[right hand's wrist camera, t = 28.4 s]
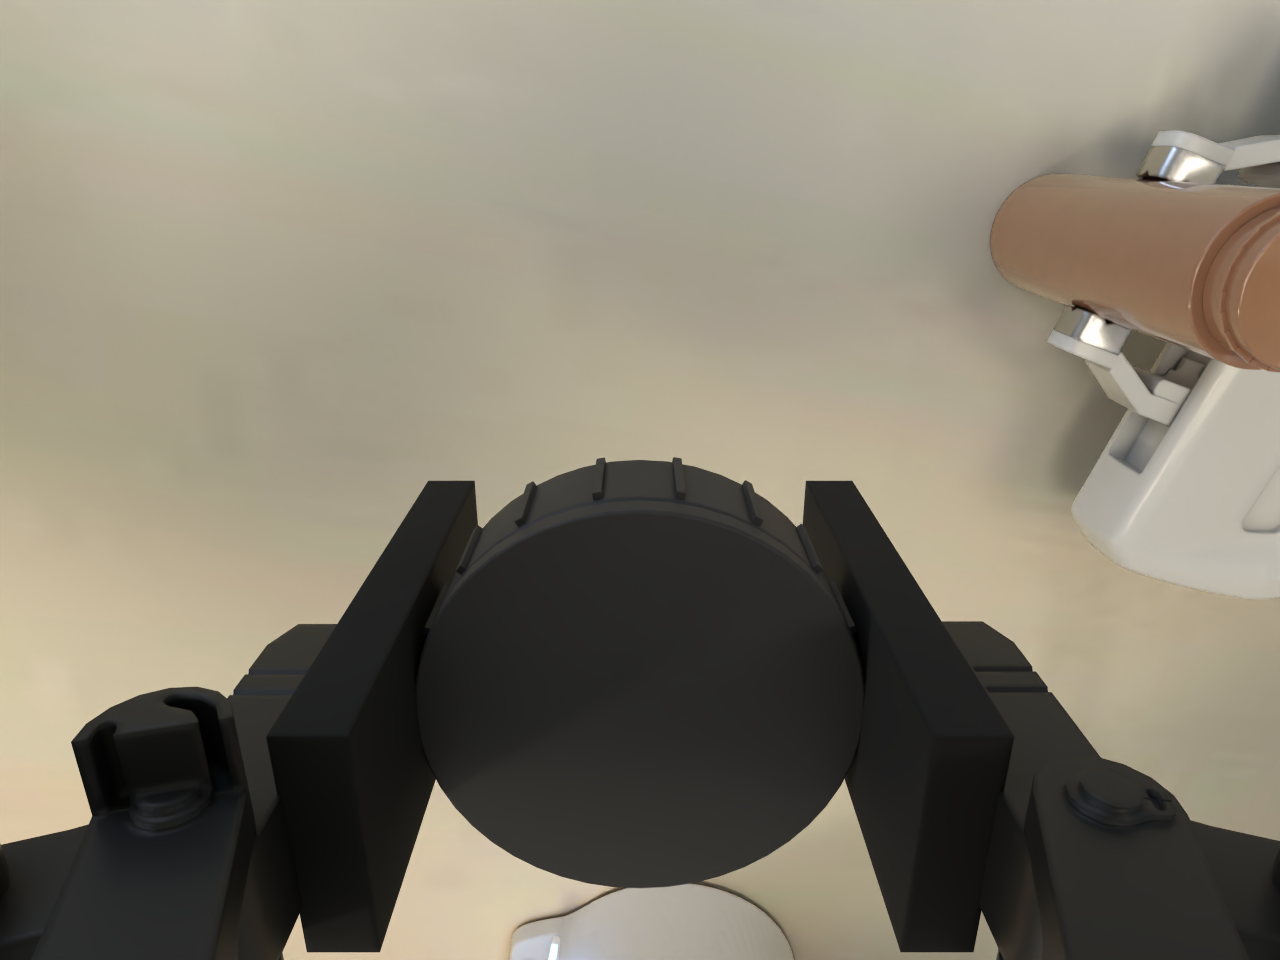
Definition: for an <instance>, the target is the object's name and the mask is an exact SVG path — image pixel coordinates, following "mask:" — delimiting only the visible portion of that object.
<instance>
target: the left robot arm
mask: <svg viewBox="0 0 1280 960" xmlns="http://www.w3.org/2000/svg"><path fill="white" fill-rule="evenodd" d="M1240 168H1241V170H1240V171H1239V173H1238V174H1239V178H1240V179H1243V180H1245V181H1247V182H1250V183H1252V184H1254V185H1256V186H1258V187H1272V188H1280V135H1259V136H1254V137H1249V138H1243V139H1238V140H1233V141H1228V142H1223V143H1215V142H1213V141H1211V140H1208V139H1206V138H1203V137H1201V136H1199V135H1196V134H1194V133H1189V132H1185V131H1180V130H1168V131H1159V133H1158V134H1157V136H1156V138H1155V140H1154V142H1153V144H1152V146H1151V148H1150V149H1149V151H1148V153H1147V155H1146V157H1145V159H1144V161H1143V163H1142V165H1141V166H1140V168H1139V170H1138V172H1137V174H1136V176H1137V177H1139V178H1141V179H1149V180H1164V181H1180V182H1195V183H1211V184H1215V183H1216V181H1217V179H1218V178H1219V176H1220V174H1221V173H1222V171H1229V170H1234V169H1240ZM1131 331H1132V329H1129V328H1126V327H1124V326H1121V325H1118V324H1116V323H1113V322H1110V321H1107V320H1105V319H1104V318H1102V317H1100V316H1098V315H1095V314H1092V313H1090V312H1087V311H1084V310H1082V309H1079V308H1076V307H1074V306H1071V305H1068V304H1067V306H1066V308H1065V309H1064V311H1063V313H1062V315H1061V316H1060V318H1059V320H1058V322H1057V324H1056V325H1055V327H1054V330H1053V331H1052V332H1051V334H1050V336H1049V338H1048V340H1047V343H1049V344H1051V345H1053V346H1055V347H1057V348H1060V349H1062V350H1064V351H1066V352H1069V353H1071V354H1073V355H1076V356H1078V357H1081V358H1084V359H1085V360H1084V361H1085V362H1086V364H1087V365H1088V367H1089V368H1090V370H1091V371H1092V373H1093V375H1094V376H1095V378H1096V379H1097V381H1098V382H1099V384H1100V385H1101V387H1102V388H1103V390H1104V392H1105V393H1106V395H1107V396H1108V398H1109V399H1111V400H1113V401H1115V402H1117V403H1119V404H1121V405H1123V406H1124V407H1126V408H1128V410H1127V411H1126V413H1125V415H1124V416H1123V418H1122V420H1121V422H1120V423H1119V425H1118V427H1117V428H1116V430H1115V432H1114V434H1113V435H1112V437H1111V439H1110V440H1109V442H1108V444H1107V445H1106V447H1105V449H1104V451H1103V452H1102V454H1101V456H1100V457H1099V459H1098V461H1097V463H1096V464H1095V466H1094V468H1093V469H1092V471H1091V473H1090V475H1089V476H1088V478H1087V480H1086V481H1085V483H1084V485H1083V486H1082V488H1081V490H1080V491H1079V493H1078V495H1077V496H1076V498H1075V500H1074V502H1073V504H1072V507H1071V512H1072V515H1073V518H1074V520H1075V522H1076V524H1077V526H1078V528H1079V530H1080V532H1081V534H1082V535H1083V536H1084V538H1085V539H1086V540H1087V541H1088V542H1089V543H1090V544H1091V545H1092V546H1093V547H1095V548H1096V549H1097V550H1098V551H1099V552H1101V553H1102V554H1103V555H1104V556H1106V557H1107V558H1108V559H1110V560H1111V561H1113V562H1114V563H1116V564H1118V565H1119V566H1121V567H1123V568H1125V569H1127V570H1130V571H1133V572H1135V573H1138V574H1141V575H1144V576H1147V577H1151V578H1154V579H1157V580H1160V581H1164V582H1168V583H1171V584H1175V585H1179V586H1183V587H1187V588H1191V589H1195V590H1200V591H1204V592H1209V593H1214V594H1219V595H1225V596H1230V597H1236V598H1242V599H1251V600H1269V599H1277V598H1280V372H1269V371H1266V370H1264V369H1263V370H1246V369H1240V368H1235V367H1232V366H1229V365H1226V364H1223V363H1221V362H1218V361H1215V360H1212V359H1210V358H1207V357H1204V356H1202V355H1199V354H1196V353H1194V352H1191V351H1188V350H1186V349H1183V348H1180V347H1177V346H1175V345H1172V344H1169V343H1166V345H1165V346H1164V348H1163V350H1162V351H1161V353H1160V355H1159V356H1158V358H1157V360H1156V362H1155V363H1154V365H1153V367H1152V368H1151V370H1150V372H1149V371H1146V370H1143V369H1140V368H1138V367H1135V366H1132V365H1130V363H1129V362H1128V360H1127V359H1126V358H1125V356H1124V355H1123V353H1122V352H1121V349H1122V347H1123V345H1124V344H1125V342H1126V340H1127V338H1128V336H1129V334H1130V332H1131ZM509 960H794V957H793V953H792V950H791V947H790V945H789V943H788V941H787V939H786V937H785V935H784V934H783V932H782V931H781V929H780V928H779V927H778V926H777V925H776V923H775V922H774V921H773V920H772V919H771V918H770V917H769V916H768V915H766V914H765V913H764V912H763V911H762V910H760V909H759V908H757V907H756V906H754V905H753V904H751V903H750V902H748V901H746V900H744V899H742V898H740V897H738V896H736V895H733V894H731V893H728V892H725V891H722V890H719V889H716V888H712V887H708V886H703V885H697V884H684V885H677V886H671V887H657V888H626V889H622V890H619V891H616V892H613V893H610V894H608V895H606V896H603V897H601V898H599V899H597V900H595V901H593V902H591V903H590V904H588V905H586V906H584V907H583V908H581V909H579V910H577V911H575V912H573V913H571V914H569V915H566V916H564V917H557V918H551V919H546V920H540V921H536V922H532V923H528V924H525V925H523V926H521V927H519V928H518V929H516V931H515V932H514V933H513V936H512V940H511V947H510V954H509Z"/></svg>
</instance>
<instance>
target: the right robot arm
mask: <svg viewBox="0 0 1280 960" xmlns="http://www.w3.org/2000/svg"><path fill="white" fill-rule="evenodd" d="M477 525H478V521H477V508H476V494H475V481H428V482H427V484H426V485H425V487H424V489H423V490H422V492H421V493H420V495H419V496H418V498H417V500H416V501H415V503H414V504H413V506H412V507H411V509H410V511H409V512H408V514H407V515H406V517H405V519H404V520H403V522H402V523H401V525H400V526H399V528H398V530H397V531H396V533H395V534H394V536H393V537H392V539H391V541H390V542H389V544H388V545H387V547H386V548H385V550H384V552H383V553H382V555H381V556H380V558H379V559H378V561H377V563H376V564H375V566H374V567H373V569H372V570H371V572H370V574H369V575H368V577H367V578H366V580H365V582H364V583H363V585H362V586H361V588H360V589H359V591H358V593H357V594H356V596H355V597H354V599H353V600H352V602H351V604H350V605H349V607H348V608H347V610H346V611H345V613H344V615H343V616H342V618H341V619H340V621H339V622H338V624H298V625H297V626H295V627H294V628H292V629H291V630H289V631H288V632H286V633H285V634H283V635H282V636H280V637H279V638H277V639H276V640H274V641H273V642H271V643H270V644H268V645H267V646H266V648H265V649H264V650H263V652H262V653H261V654H260V656H259V657H258V658H257V660H256V661H255V662H254V664H253V665H252V666H251V668H250V669H249V674H248V675H245V676H244V677H243V678H242V680H241V681H240V682H239V684H238V685H237V686H236V688H235V689H234V694H233V695H230V696H229V697H228V698H226V697H224V696H223V695H222V694H221V693H220V692H218V691H213V690H209V689H205V688H200V687H182V688H168V689H163V690H159V691H155V692H151V693H147V694H142V695H139V696H136V697H134V698H132V699H129V700H127V701H125V702H122V703H120V704H118V705H115V706H113V707H111V708H109V709H108V710H106V711H105V712H103V713H102V714H100V715H99V716H97V717H96V718H94V719H93V720H91V721H90V722H88V723H87V724H86V725H85V726H84V727H83V728H82V730H81V731H80V732H79V733H78V734H77V736H76V737H75V738H74V739H73V740H72V742H71V744H72V747H73V751H74V754H75V757H76V761H77V764H78V768H79V771H80V775H81V778H82V782H83V785H84V788H85V792H86V795H87V799H88V802H89V806H90V809H91V812H92V818H91V821H90V823H89V825H85V826H82V827H78V828H75V829H71V830H67V831H62V832H58V833H53V834H49V835H44V836H39V837H35V838H30V839H26V840H21V841H17V842H12V843H8V844H3V845H0V960H284V958H283V954H282V952H283V949H284V947H285V945H286V943H287V940H288V938H289V936H290V934H291V931H292V929H293V927H294V925H295V922H296V920H297V918H298V916H299V913H300V917H301V923H302V928H303V933H304V938H305V944H306V949H307V952H380V950H381V947H382V944H383V941H384V937H385V934H386V931H387V928H388V925H389V922H390V919H391V916H392V913H393V910H394V906H395V903H396V900H397V897H398V894H399V891H400V888H401V885H402V882H403V879H404V876H405V872H406V869H407V866H408V863H409V860H410V857H411V854H412V851H413V848H414V845H415V842H416V838H417V835H418V832H419V829H420V826H421V823H422V820H423V817H424V814H425V811H426V808H427V804H428V801H429V798H430V795H431V792H432V789H433V786H434V783H435V780H436V778H435V776H434V774H433V772H432V770H431V768H430V767H429V764H428V761H427V759H426V756H425V753H424V750H423V748H422V745H421V738H420V730H419V721H418V712H417V702H416V692H415V684H416V675H417V667H418V664H419V660H420V656H421V653H422V649H423V646H424V642H425V640H426V638H427V636H428V635H425V634H423V630H424V627H425V625H426V622H427V620H428V618H429V616H430V613H431V611H432V609H433V607H434V605H435V602H436V600H437V598H438V596H439V593H440V591H441V589H442V587H443V585H444V583H445V582H447V583H451V581H452V578H453V576H454V574H455V572H456V568H457V566H458V564H459V562H460V559H461V557H462V555H463V552H464V550H465V548H466V546H467V543H468V541H469V539H470V536H471V534H472V532H473V530H474V529H475V527H476V526H477ZM803 526H804V527H805V528H806V530H807V533H808V535H809V537H810V540H811V542H812V544H813V547H814V549H815V551H816V554H817V556H818V558H819V560H820V563H821V565H822V567H823V569H824V571H825V573H826V575H827V578H828V580H829V582H831V581H835V582H836V584H837V586H838V588H839V591H840V593H841V595H842V597H843V599H844V602H845V604H846V606H847V608H848V611H849V613H850V615H851V617H852V619H853V622H854V624H855V626H856V629H857V632H856V633H853V634H852V635H853V637H854V640H855V642H856V646H857V649H858V653H859V656H860V659H861V663H862V667H863V675H864V683H865V698H864V708H863V718H862V726H861V734H860V742H859V745H858V748H857V751H856V754H855V756H854V759H853V762H852V765H851V767H850V769H849V771H848V772H847V774H846V776H845V781H846V784H847V787H848V790H849V794H850V797H851V800H852V803H853V806H854V809H855V812H856V815H857V818H858V821H859V824H860V828H861V831H862V834H863V837H864V840H865V843H866V846H867V849H868V852H869V855H870V858H871V862H872V865H873V868H874V871H875V874H876V877H877V880H878V883H879V886H880V889H881V893H882V896H883V899H884V902H885V905H886V908H887V911H888V914H889V917H890V920H891V923H892V927H893V930H894V933H895V936H896V939H897V942H898V945H899V948H900V951H901V952H974V946H975V941H976V936H977V931H978V925H979V920H980V915H981V910H982V912H983V914H984V917H985V919H986V921H987V923H988V926H989V928H990V930H991V932H992V935H993V937H994V939H995V941H996V944H997V946H998V948H999V949H998V954H997V958H996V960H1280V841H1276V840H1272V839H1267V838H1263V837H1258V836H1253V835H1249V834H1244V833H1240V832H1235V831H1231V830H1226V829H1221V828H1217V827H1212V826H1209V825H1205V824H1202V823H1198V822H1195V821H1191V820H1190V819H1189V817H1188V815H1187V813H1186V812H1185V810H1184V809H1183V808H1182V806H1181V805H1180V803H1179V802H1178V801H1177V799H1176V798H1175V796H1174V795H1173V794H1171V793H1170V792H1169V791H1168V790H1166V789H1165V788H1164V787H1162V786H1161V785H1160V784H1159V783H1157V782H1156V781H1155V780H1153V779H1152V778H1151V777H1149V776H1147V775H1145V774H1142V773H1140V772H1138V771H1136V770H1134V769H1132V768H1130V767H1128V766H1126V765H1124V764H1121V763H1117V762H1113V761H1110V760H1106V759H1102V758H1101V757H1100V756H1099V755H1098V753H1097V752H1096V751H1095V749H1094V748H1093V747H1092V745H1091V744H1090V743H1089V741H1088V740H1087V739H1086V737H1085V736H1084V735H1083V733H1082V732H1081V731H1080V729H1079V728H1078V727H1077V725H1076V724H1075V723H1074V721H1073V720H1072V719H1071V718H1070V716H1069V715H1068V714H1067V712H1066V711H1065V710H1064V708H1063V707H1062V706H1061V704H1060V703H1059V702H1058V700H1057V699H1056V698H1055V696H1054V695H1053V694H1052V692H1048V690H1047V688H1048V687H1047V686H1046V684H1045V683H1044V682H1043V680H1042V679H1041V678H1040V676H1039V675H1038V674H1037V672H1033V671H1032V666H1031V664H1030V663H1029V662H1028V661H1027V659H1026V658H1025V657H1024V655H1023V654H1022V653H1021V651H1020V650H1019V649H1018V647H1017V646H1016V645H1015V643H1014V642H1012V641H1011V640H1009V639H1008V638H1006V637H1005V636H1003V635H1002V634H1000V633H999V632H997V631H996V630H994V629H993V628H991V627H990V626H988V625H987V624H985V623H984V622H941V620H940V618H939V617H938V615H937V614H936V612H935V611H934V609H933V607H932V606H931V604H930V603H929V601H928V600H927V598H926V596H925V595H924V593H923V592H922V590H921V589H920V587H919V585H918V584H917V582H916V581H915V579H914V577H913V576H912V574H911V573H910V571H909V570H908V568H907V566H906V565H905V563H904V562H903V560H902V559H901V557H900V555H899V554H898V552H897V551H896V549H895V548H894V546H893V544H892V543H891V541H890V540H889V538H888V537H887V535H886V533H885V532H884V530H883V529H882V527H881V526H880V524H879V522H878V521H877V519H876V518H875V516H874V514H873V513H872V511H871V510H870V508H869V507H868V505H867V503H866V502H865V500H864V499H863V497H862V496H861V494H860V492H859V491H858V489H857V488H856V486H855V485H854V483H853V481H806V488H805V501H804V515H803Z"/></svg>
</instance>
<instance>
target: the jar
mask: <svg viewBox="0 0 1280 960" xmlns="http://www.w3.org/2000/svg"><path fill="white" fill-rule="evenodd" d="M990 246H991V254H992V258H993V261H994V263H995V266H996V267H997V269H998V271H999V272H1000V273H1001V275H1002V276H1003V277H1004V278H1005V279H1006V280H1007V281H1008V282H1010V283H1011V284H1013V285H1015V286H1017V287H1019V288H1021V289H1024V290H1027V291H1029V292H1032V293H1035V294H1037V295H1040V296H1043V297H1045V298H1048V299H1051V300H1054V301H1056V302H1059V303H1062V304H1064V305H1067V304H1068V305H1071V306H1074V307H1076V308H1079V309H1082V310H1084V311H1087V312H1090V313H1092V314H1095V315H1098V316H1100V317H1102V318H1104V319H1105V320H1107V321H1110V322H1113V323H1116V324H1118V325H1121V326H1124V327H1126V328H1129V329H1132V330H1134V331H1137V332H1140V333H1142V334H1145V335H1148V336H1151V337H1153V338H1156V339H1159V340H1161V341H1164V342H1167V343H1169V344H1172V345H1175V346H1177V347H1180V348H1183V349H1186V350H1188V351H1191V352H1194V353H1196V354H1199V355H1202V356H1204V357H1207V358H1210V359H1212V360H1215V361H1218V362H1221V363H1223V364H1226V365H1229V366H1232V367H1235V368H1240V369H1246V370H1263V369H1264V370H1266V371H1269V372H1280V188H1272V187H1257V186H1241V185H1226V184H1211V183H1195V182H1180V181H1164V180H1149V179H1134V178H1118V177H1103V176H1088V175H1072V174H1048V175H1044V176H1040V177H1037V178H1034V179H1032V180H1030V181H1028V182H1026V183H1025V184H1023V185H1022V186H1020V187H1019V188H1018V189H1016V190H1015V191H1014V192H1013V193H1012V194H1011V195H1010V196H1009V197H1008V198H1007V199H1006V201H1005V202H1004V203H1003V205H1002V206H1001V208H1000V210H999V211H998V213H997V215H996V218H995V220H994V223H993V226H992V231H991V239H990Z"/></svg>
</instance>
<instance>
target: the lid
mask: <svg viewBox="0 0 1280 960" xmlns="http://www.w3.org/2000/svg"><path fill="white" fill-rule="evenodd" d="M856 632H857V629H856V626H855V624H854V622H853V619H852V617H851V615H850V613H849V611H848V608H847V606H846V604H845V602H844V599H843V597H842V595H841V593H840V591H839V588H838V586H837V584H836V582H835V581H831V582H829V580H828V578H827V575H826V573H825V571H824V569H823V567H822V565H821V563H820V560H819V558H818V556H817V554H816V551H815V549H814V547H813V544H812V542H811V540H810V537H809V535H808V533H807V530H806V528H805V527H804V526H803V525H802V524H800V525H799V526H797V527H796V526H795V525H794V524H793V523H792V522H791V521H790V520H789V519H788V517H786V516H785V515H784V514H783V513H782V512H781V511H779V510H778V509H777V508H776V507H775V506H773V505H772V504H771V503H770V502H769V501H767V500H766V499H764V498H763V497H761V496H760V495H758V494H756V493H755V492H754V489H753V486H752V484H751V483H749V482H747V481H744V483H743V484H742V485H741V484H739V483H737V482H735V481H733V480H730V479H728V478H726V477H724V476H722V475H719V474H716V473H713V472H710V471H707V470H703V469H700V468H697V467H693V466H688V465H683V464H682V460H681V458H675V457H674V458H673V461H672V462H664V461H647V460H632V461H617V462H608V463H606V461H605V458H599V459H597V461H596V465H592V466H587V467H583V468H580V469H577V470H574V471H570V472H567V473H564V474H561V475H558V476H556V477H554V478H552V479H550V480H548V481H545V482H543V483H541V484H539V485H537V486H536V484H535V483H534V482H531V483H529V484H527V485H526V488H525V491H524V494H522V495H521V496H519V497H517V498H516V499H514V500H513V501H511V502H510V503H509V504H508V505H507V506H505V507H504V508H503V509H502V510H501V511H500V512H498V513H497V514H496V515H495V516H494V517H493V518H492V519H491V520H490V521H489V522H488V523H487V524H486V525H485V527H484V528H483V529H482V528H481V527H480V526H478V525H477V526H476V527H475V529H474V530H473V532H472V534H471V536H470V539H469V541H468V543H467V546H466V548H465V550H464V552H463V555H462V557H461V559H460V562H459V564H458V566H457V568H456V572H455V574H454V576H453V578H452V581H451V583H447V582H445V583H444V585H443V587H442V589H441V591H440V593H439V596H438V598H437V600H436V602H435V605H434V607H433V609H432V611H431V613H430V616H429V618H428V620H427V622H426V625H425V627H424V630H423V634H425V635H428V636H427V638H426V640H425V642H424V646H423V649H422V653H421V656H420V660H419V664H418V667H417V675H416V684H415V692H416V702H417V712H418V721H419V730H420V738H421V745H422V748H423V750H424V753H425V756H426V759H427V761H428V764H429V767H430V768H431V770H432V772H433V774H434V776H435V778H436V780H437V782H438V783H439V785H440V787H441V789H442V790H443V791H444V793H445V794H446V796H447V797H448V798H449V800H450V801H451V802H452V804H453V805H454V807H455V808H456V809H457V810H458V811H459V812H460V813H461V814H462V815H463V816H464V817H465V818H466V819H467V821H468V822H469V823H470V824H471V825H472V826H473V827H475V828H476V829H477V830H478V831H479V832H481V833H482V834H483V835H484V836H485V837H487V838H488V839H489V840H490V841H492V842H493V843H494V844H496V845H498V846H499V847H501V848H502V849H504V850H505V851H507V852H508V853H510V854H512V855H513V856H515V857H517V858H519V859H521V860H523V861H525V862H527V863H529V864H531V865H533V866H535V867H537V868H540V869H543V870H545V871H548V872H551V873H553V874H556V875H559V876H562V877H565V878H569V879H573V880H577V881H581V882H585V883H590V884H597V885H603V886H610V887H623V888H657V887H671V886H677V885H684V884H690V883H696V882H699V881H703V880H707V879H711V878H715V877H719V876H722V875H724V874H727V873H730V872H732V871H735V870H738V869H740V868H743V867H745V866H747V865H749V864H751V863H753V862H755V861H757V860H759V859H761V858H763V857H765V856H767V855H769V854H770V853H772V852H773V851H775V850H776V849H778V848H779V847H781V846H783V845H784V844H786V843H787V842H789V841H790V840H791V839H792V838H794V837H795V836H796V835H797V834H798V833H800V832H801V831H802V830H803V829H804V828H806V827H807V826H808V825H809V824H810V823H811V822H812V821H813V820H814V819H815V818H816V817H817V815H818V814H819V813H820V812H821V811H822V810H823V809H824V808H825V807H826V806H827V804H828V803H829V801H830V800H831V799H832V797H833V796H834V794H835V793H836V792H837V790H838V789H839V787H840V786H841V784H842V782H843V780H844V778H845V776H846V774H847V772H848V771H849V769H850V767H851V765H852V762H853V759H854V756H855V754H856V751H857V748H858V745H859V742H860V734H861V726H862V718H863V708H864V698H865V683H864V675H863V667H862V663H861V659H860V656H859V653H858V649H857V646H856V642H855V640H854V637H853V635H852V634H853V633H856Z"/></svg>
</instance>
